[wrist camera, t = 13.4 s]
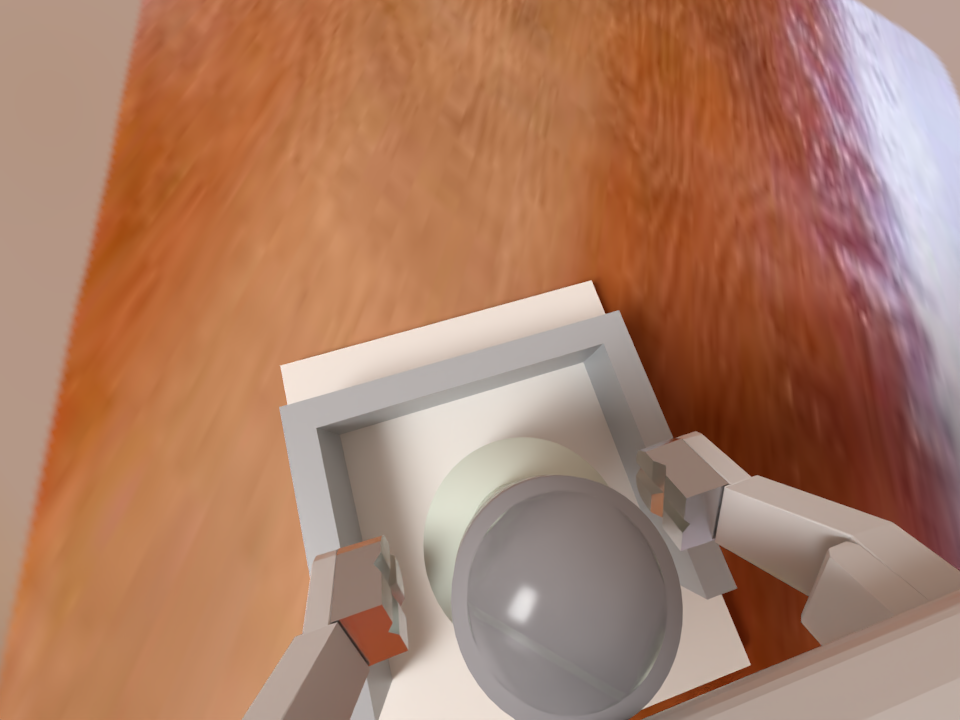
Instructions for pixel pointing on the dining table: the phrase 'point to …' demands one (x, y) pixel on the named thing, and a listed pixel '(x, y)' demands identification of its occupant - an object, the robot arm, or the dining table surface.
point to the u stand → (455, 434)
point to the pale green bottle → (552, 583)
